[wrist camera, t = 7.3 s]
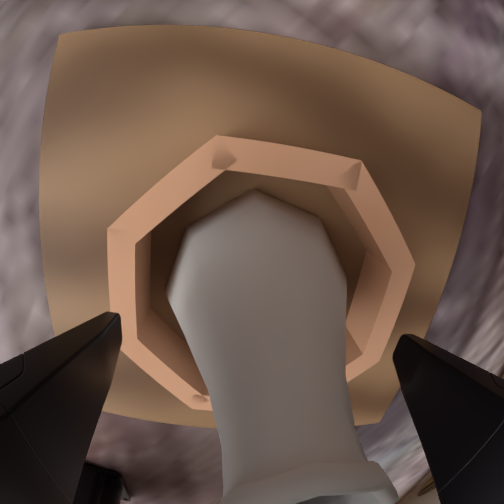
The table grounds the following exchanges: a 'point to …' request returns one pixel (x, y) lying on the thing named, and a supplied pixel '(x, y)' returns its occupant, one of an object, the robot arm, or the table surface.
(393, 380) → the board
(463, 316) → the table surface
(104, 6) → the table surface
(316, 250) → the flask
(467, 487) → the robot arm
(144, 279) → the ring
